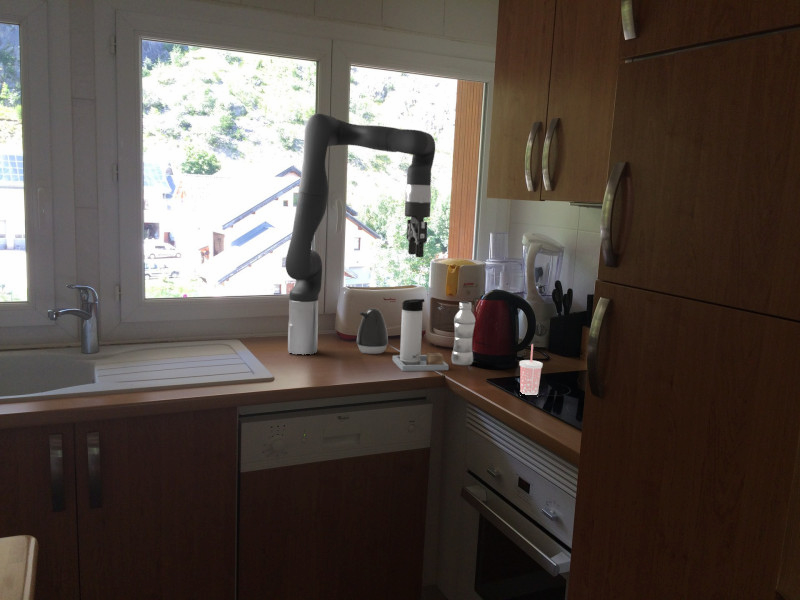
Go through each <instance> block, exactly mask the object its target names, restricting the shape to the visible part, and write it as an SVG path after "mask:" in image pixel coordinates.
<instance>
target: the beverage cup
mask: <svg viewBox="0 0 800 600" xmlns="http://www.w3.org/2000/svg"><path fill="white" fill-rule="evenodd" d="M530 349H531V350H530V359H524V360H520V361H519V367H520V372H519V373H520V375H519V376H520V377H519V378H520V379H519V381H520V382H519V383H520V384H519V385H520V390H519V392H521V393H522V394H525V395H537V394H538V395H539V386H540V380H541V373H542V368H543V365H544V364H543V362H541V361H537V360H533V356H534V355H533V354H534V343H532V344H531V347H530Z"/></svg>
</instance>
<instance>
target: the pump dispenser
mask: <svg viewBox="0 0 800 600" xmlns="http://www.w3.org/2000/svg"><path fill="white" fill-rule="evenodd" d="M359 315H360V316H362V318H361V321H360V322H359V323H360V324H359V326H358V330H357V335H356V336H357V337H356V344H357V347H358V349H359V351H360V352H361V353H362V354H369V355H370V354H371V355H375V354H382V353H384V352H385V351H386V349H387V346H388V344H389V338H388V330H387V325H386V320H385V318H384V316H383V314H382V312H381V311H380V309H378V308H375V307H372V308H371V307H370V308H368V309H367V310H366V311H365V312H363V311H360V313H359Z"/></svg>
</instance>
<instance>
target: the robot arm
mask: <svg viewBox="0 0 800 600" xmlns="http://www.w3.org/2000/svg"><path fill="white" fill-rule="evenodd" d="M303 139H304V140H303V156H302V157H303V158H302V159H303V160H302V165H301V173H300V181H299V186H298V193H297V199H296V208H295V213H294V214H295V215H294V220H293V226H292V227H293V228H292V233H291V238H290V242H289V246H288V250H287V253H286V258H285V270H286V273H287V275H288V276H289V277H290V278H291V279H293V280H295V284H294V285H293V287H292V289H290V291H289V298H288V299H289V301H288V304H289V305H288V321H287V322H288V328H287V331H288V332H287V351H288V354H289V353H292V354H291V355H297V354H302V355H301V356H305V355H306V354H310V355H314V353H315V354H316V352H317V353H318V334H319V333H318V328H319V327H318V326H319V295H320V293H321V289H322V280H323V279H322V278H323V277H322V276H323V261H322V258H321V256H320V254H319V253H318V252H317V251H316V250H313V249H312V247H313V241H314V237H315V234H316V231H317V230H318V228H319V226H320V224H321V223H322V220H323V219H324V216H325V213H326V209H327V205H328V199H329V198H328V197H329V181H328V177H327V171H326V157H327V151H328V147H332V146H333V147H334V146H354V147H355V146H356V147H362V148H366V149H371V150H374V151H375V150H377V151H383V152H390V153H401V154H408V155H411V156H412V158H411V159H412V160H411V164H410V165H409V167H407V173H406V174H407V175H406V189H405V198H404V199H405V200H404V201H405V202H404V216H405V217H407V218H410V219H407V220H406V221H407V225H406V240H407V242H408V248H407V249H408V252H407V253H408V255H413V256H414V255H415V257H416V258H423V257H424V252H425V251H424V247H425V244H427V241H428V222H427V221H425V218H430V217H431V205H432V204H431V203H432V202H431V201H432V187H431V182H432V180H431V179H432V168H433V164H434V160H435V154H436V140H435V139H434V136H433V135H432V134H430V133H429V132H425V131H422V130H417V129H409V128H408V129H407V128H405V129H404V128H403V129H402V128H396V127H391V126H384V125H367V124H365V125H363V124H362V125H360V124H355V123H351V122H347V121H344V120H340V119H337V118H335V117H333V116H331V115H327V114H324V113H314V114H312V115H311V116H310V117H309V118H308V119H307V121H306V124H305V127H304V138H303ZM304 354H305V355H304ZM306 356H307V355H306Z"/></svg>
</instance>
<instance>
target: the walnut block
mask: <svg viewBox="0 0 800 600" xmlns="http://www.w3.org/2000/svg"><path fill="white" fill-rule="evenodd" d="M426 355H427V359H426V365H438V364H443V361H444V355H443V354H442V353H440V352H426Z"/></svg>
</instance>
